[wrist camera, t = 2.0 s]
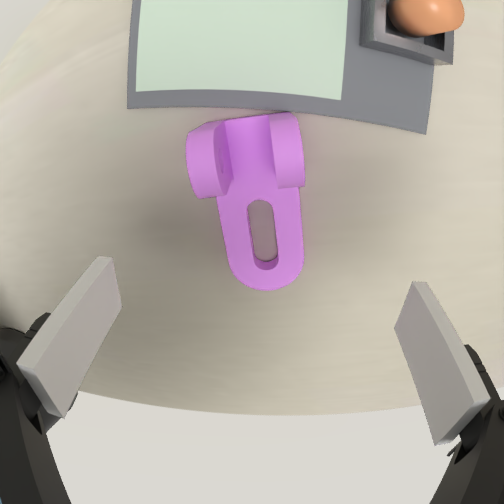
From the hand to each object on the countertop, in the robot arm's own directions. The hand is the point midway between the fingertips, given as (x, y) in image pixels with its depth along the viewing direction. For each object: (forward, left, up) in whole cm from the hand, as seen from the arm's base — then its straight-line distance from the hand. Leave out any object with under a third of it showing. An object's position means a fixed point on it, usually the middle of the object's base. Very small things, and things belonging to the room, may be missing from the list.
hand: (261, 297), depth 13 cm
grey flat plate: (+1, +12, -11) cm, 17 cm away
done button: (+8, +15, -8) cm, 19 cm away
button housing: (+8, +15, -11) cm, 20 cm away
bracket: (0, 0, -11) cm, 11 cm away
